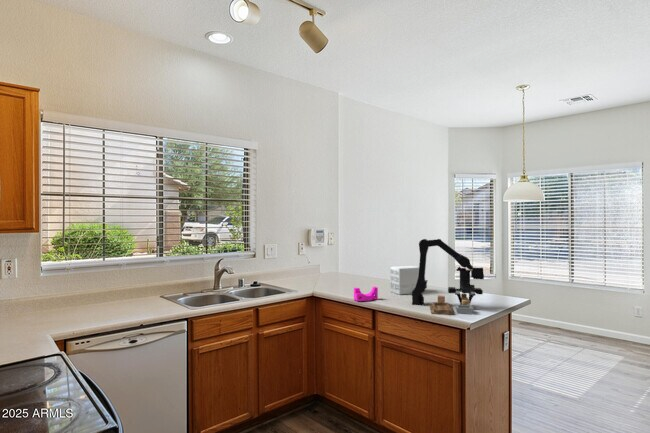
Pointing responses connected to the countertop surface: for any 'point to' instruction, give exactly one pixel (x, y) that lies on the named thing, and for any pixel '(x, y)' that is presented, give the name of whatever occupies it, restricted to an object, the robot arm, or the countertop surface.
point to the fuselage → (464, 299)
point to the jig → (441, 308)
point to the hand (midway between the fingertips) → (464, 305)
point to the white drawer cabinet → (403, 279)
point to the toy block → (365, 297)
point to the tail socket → (464, 309)
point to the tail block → (441, 298)
